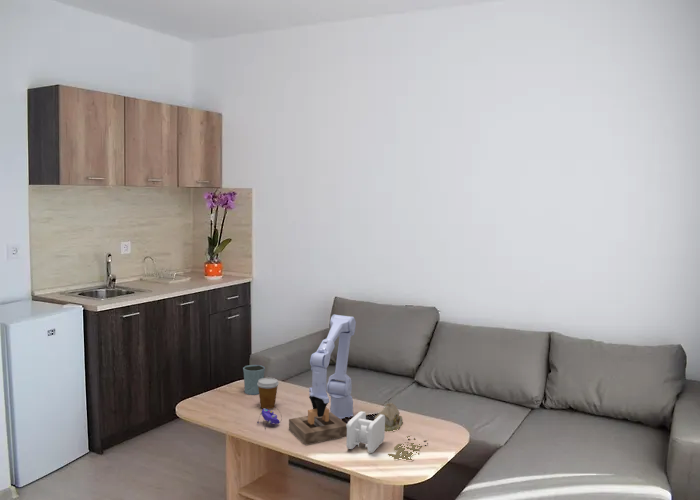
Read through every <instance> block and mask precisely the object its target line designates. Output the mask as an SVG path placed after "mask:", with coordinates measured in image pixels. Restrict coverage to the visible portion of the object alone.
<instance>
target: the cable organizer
mask: <svg viewBox="0 0 700 500" xmlns="http://www.w3.org/2000/svg"><path fill="white" fill-rule="evenodd" d="M346 427H347V437H346V445H345V446H346V449H349V450H353V449H354V448H355V447H356V446H357V447H360V444H365V449H367V452H368V453H371V454H373V453H374V452H375V451H376V449H378V448H379V447H380V446H381V445H382V444H383V442H384V440H385V434H386V433H385V432H386V431H385V415H382V414H380V415H379V416H378V417H377V418H376V419H374V420H369V419H367V412H366V411H359V412H358V413H356V415H354V416H353V417H352V418H351V419H350V420H348V421H347V423H346ZM380 444H381V445H380ZM379 445H380V446H379Z"/></svg>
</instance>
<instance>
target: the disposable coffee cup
mask: <svg viewBox="0 0 700 500" xmlns="http://www.w3.org/2000/svg"><path fill="white" fill-rule="evenodd" d="M257 385H258V388H259V394H258V396H259V404H260V405H259V406H260V408H261V409H262V410H263V409H264V408H265V409H268V410H271V409H274V408H275V407H276V398H277V394H278V393H277V391H278V385H279V381H278V379H277V378H274V377H264V378H262V379H260V380H258V383H257ZM266 406H267V407H266ZM273 406H274V407H273Z"/></svg>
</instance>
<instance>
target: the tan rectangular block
mask: <svg viewBox="0 0 700 500" xmlns="http://www.w3.org/2000/svg"><path fill="white" fill-rule="evenodd" d="M329 412H330V408H328V407H326V408H325V411H324V415H323V416H322V420H324V421H325V422H328V421H329ZM307 416H308V423H310V424H314V417H316V416H318V414H317V409H313V408H311V409H308V410H307Z"/></svg>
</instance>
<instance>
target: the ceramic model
mask: <svg viewBox="0 0 700 500" xmlns="http://www.w3.org/2000/svg"><path fill="white" fill-rule="evenodd" d="M380 414H382V415H385V432H387V431H393V430H397V429H398V430H399V429H400V428H401V427H402V424H403V416H402V415H400V410H399V409H398V407H397V406H396V405H395V404H394V403H393V402H387V403H386V406H385V407H384V408H383V409H382V411H380V412H379V413H378V414H377V415H375V416H374V420H375V419H376V418H377V417H378V416H379V415H380ZM400 426H401V427H400ZM399 427H400V428H399ZM398 430H397V431H398ZM393 432H394V431H393Z"/></svg>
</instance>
